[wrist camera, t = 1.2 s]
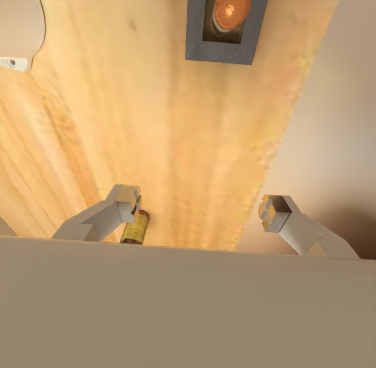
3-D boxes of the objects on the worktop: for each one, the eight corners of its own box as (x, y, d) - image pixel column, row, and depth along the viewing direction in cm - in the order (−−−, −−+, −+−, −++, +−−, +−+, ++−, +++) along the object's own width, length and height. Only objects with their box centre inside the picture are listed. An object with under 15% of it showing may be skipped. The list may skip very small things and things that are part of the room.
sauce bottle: (127, 210, 54) (99, 273, 38) (146, 208, 53) (125, 271, 37) (135, 223, 58) (112, 286, 42) (152, 222, 57) (136, 285, 41)
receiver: (186, 59, 30) (185, 59, 28) (190, -37, 24) (190, -50, 21) (246, 64, 31) (251, 65, 28) (267, -30, 24) (277, -42, 21)
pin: (208, 35, 28) (213, 25, 20) (211, 1, 26) (219, -26, 18) (231, 37, 28) (246, 28, 20) (237, 3, 26) (256, -22, 18)
